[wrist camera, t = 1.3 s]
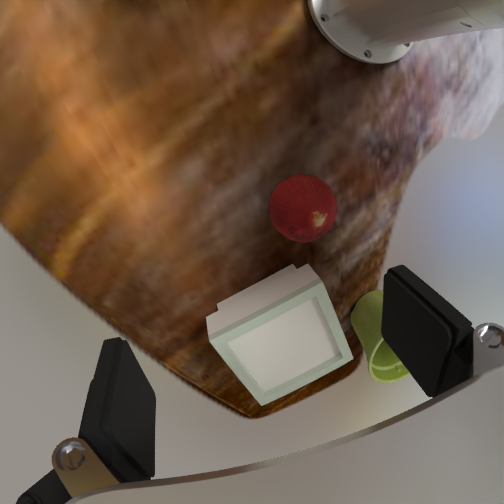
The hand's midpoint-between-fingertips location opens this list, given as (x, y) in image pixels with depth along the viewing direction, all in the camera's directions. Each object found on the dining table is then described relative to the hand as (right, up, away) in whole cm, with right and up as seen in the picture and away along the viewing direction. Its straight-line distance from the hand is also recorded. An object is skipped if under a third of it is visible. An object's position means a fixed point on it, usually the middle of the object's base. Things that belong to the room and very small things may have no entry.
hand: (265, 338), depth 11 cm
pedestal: (+2, -4, +25) cm, 25 cm away
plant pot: (+14, -4, +28) cm, 32 cm away
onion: (+3, +8, +20) cm, 22 cm away
